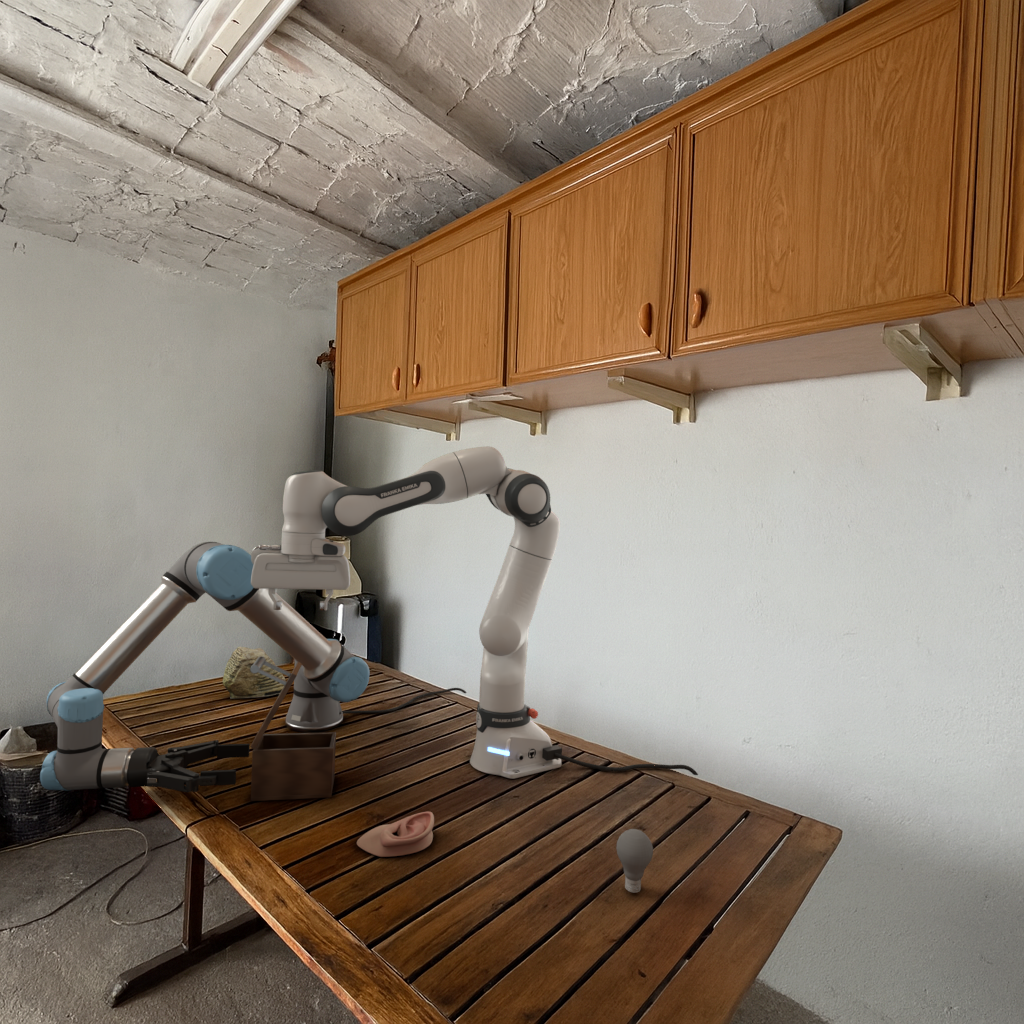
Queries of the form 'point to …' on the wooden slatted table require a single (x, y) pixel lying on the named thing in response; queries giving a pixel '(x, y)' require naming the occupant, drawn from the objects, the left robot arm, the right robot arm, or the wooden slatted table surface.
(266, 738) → the chest
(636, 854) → the light bulb
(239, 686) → the fossil
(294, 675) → the lid
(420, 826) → the anatomical model
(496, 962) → the wooden slatted table surface
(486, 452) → the right robot arm
